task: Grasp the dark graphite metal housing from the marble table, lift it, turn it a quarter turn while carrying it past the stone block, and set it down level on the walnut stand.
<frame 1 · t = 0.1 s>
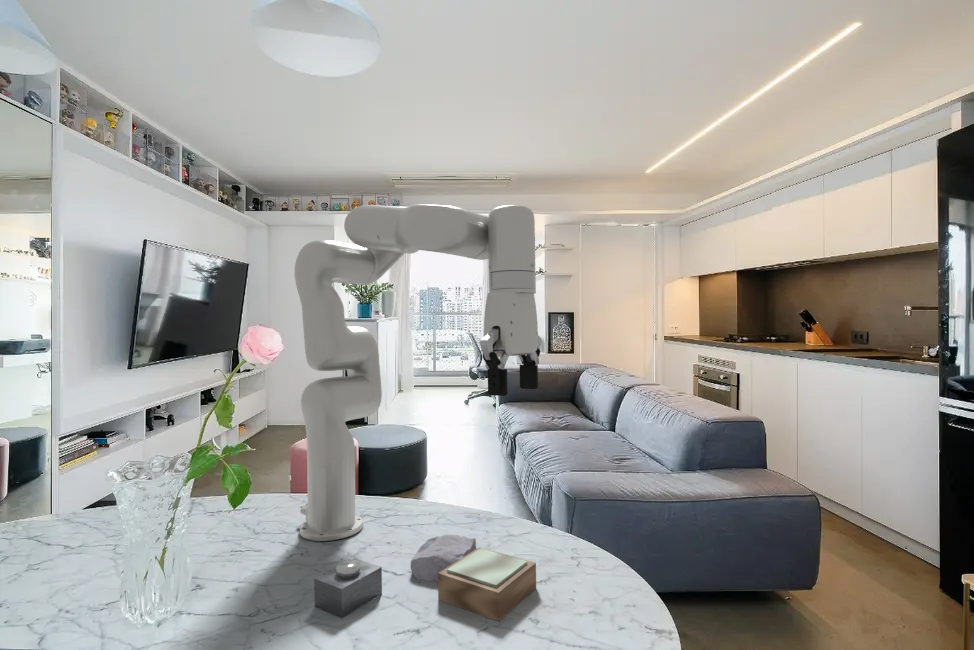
hand: (514, 391, 81), 31 cm above the table, tool pointing down, fingers open, 9 cm apart
housing: (349, 601, 78), on the table
stand: (488, 593, 79), on the table
stone block: (442, 567, 89), on the table
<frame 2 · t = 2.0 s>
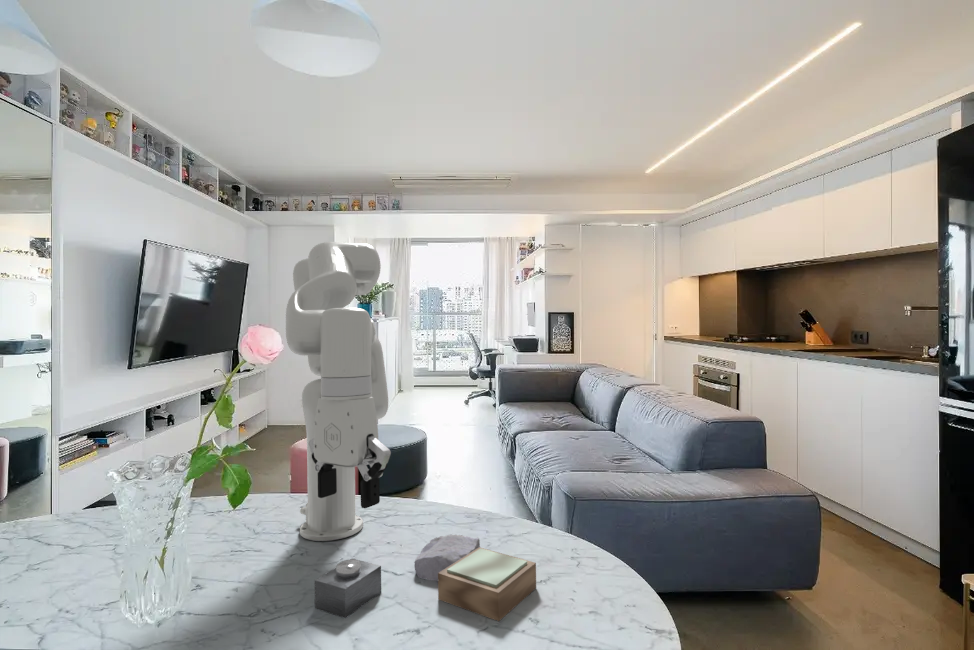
hand: (348, 500, 78), 15 cm above the table, tool pointing down, fingers open, 9 cm apart
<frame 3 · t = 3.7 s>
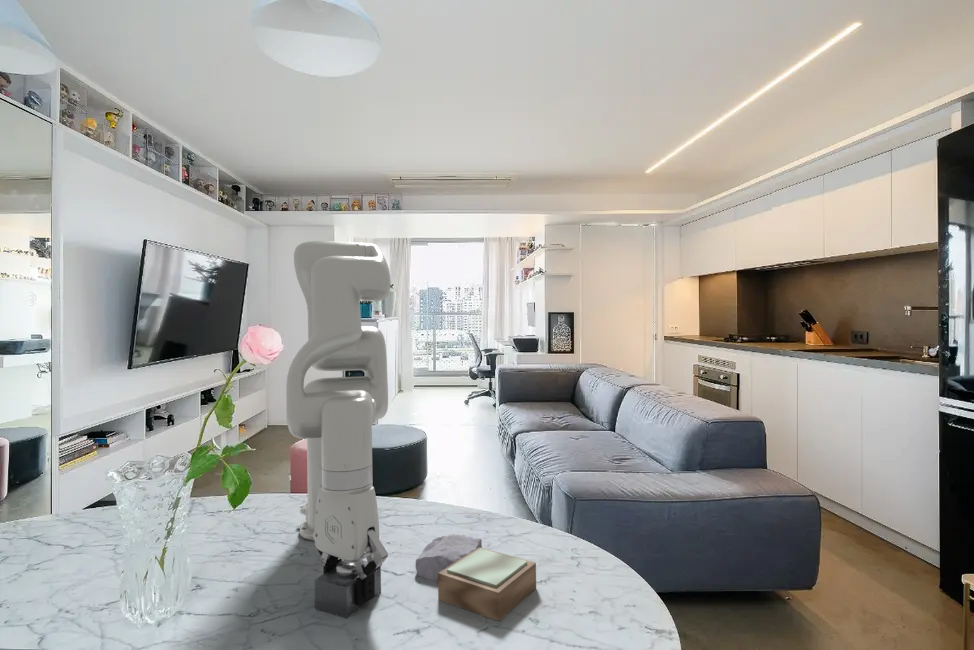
hand: (348, 593, 78), 1 cm above the table, tool pointing down, fingers closed on housing, 6 cm apart
housing: (349, 600, 78), on the table, touching gripper
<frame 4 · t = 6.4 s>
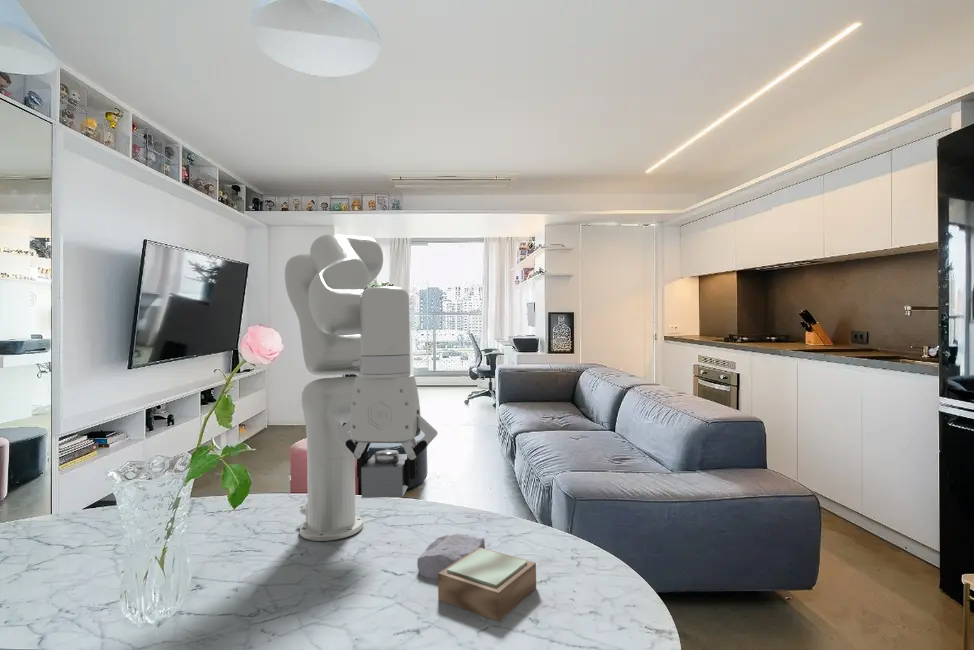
hand: (387, 482, 78), 18 cm above the table, tool pointing down, fingers closed on housing, 6 cm apart
housing: (387, 489, 78), point 17 cm above the table, touching gripper
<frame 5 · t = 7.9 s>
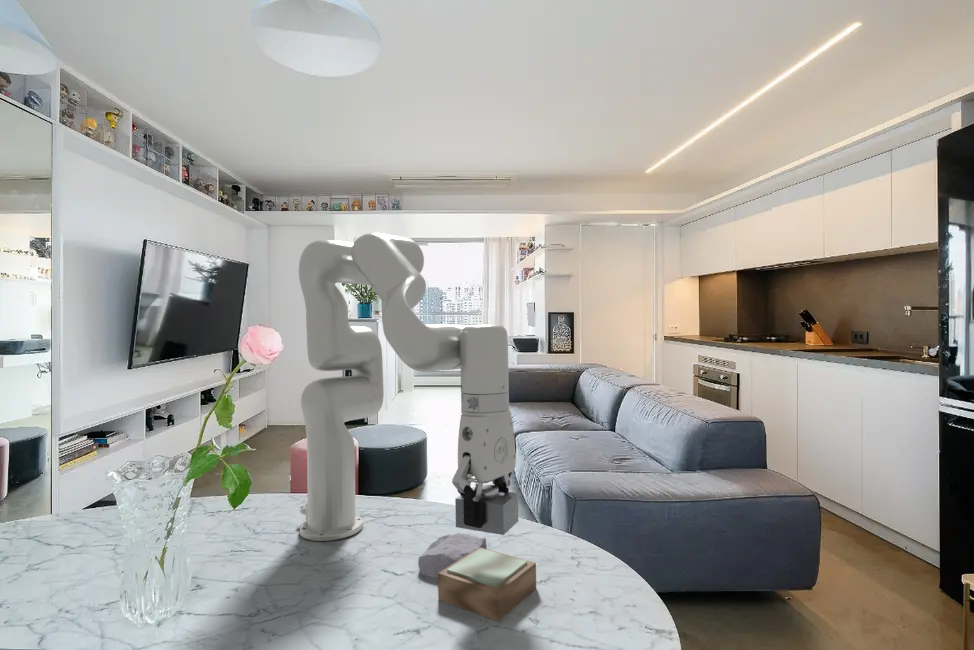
hand: (487, 517, 79), 12 cm above the table, tool pointing down, fingers closed on housing, 6 cm apart
housing: (487, 524, 79), point 11 cm above the table, touching gripper
when the fingers open (7 cm above the table, at t = 9.3 s): housing drops 1 cm, resting on stand.
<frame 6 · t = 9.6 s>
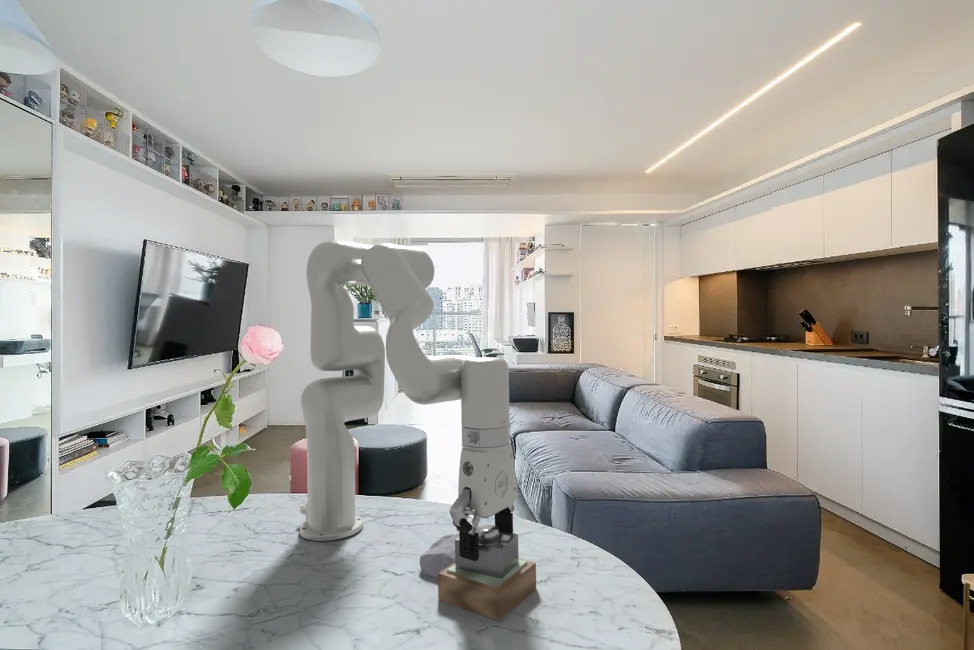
hand: (487, 546, 79), 7 cm above the table, tool pointing down, fingers open, 9 cm apart
housing: (487, 565, 79), point 4 cm above the table, touching stand
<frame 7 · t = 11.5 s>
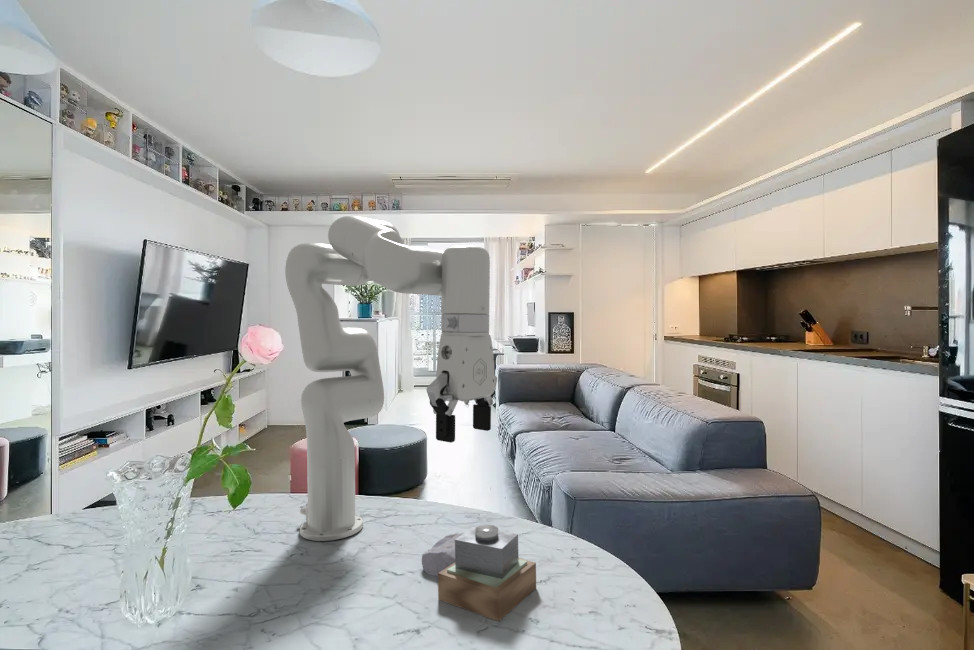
hand: (464, 434, 80), 25 cm above the table, tool pointing down, fingers open, 9 cm apart
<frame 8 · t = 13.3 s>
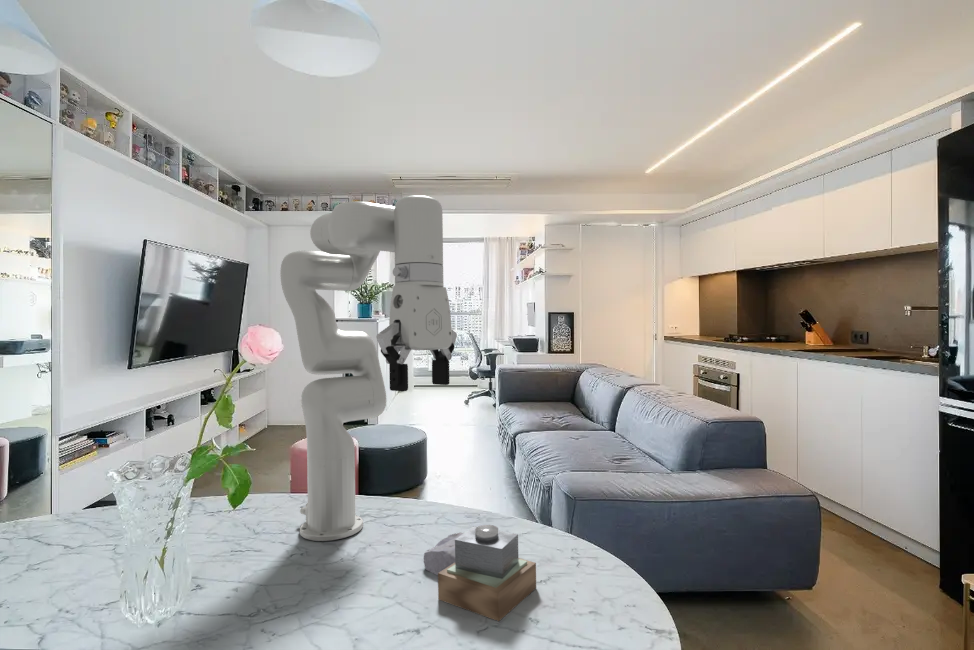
hand: (420, 387, 79), 32 cm above the table, tool pointing down, fingers open, 9 cm apart
at the end: housing inside the target area on the stand (0.1 cm from its centre), point 4.4 cm above the stand's base; housing tilted 0°; the gripper is holding nothing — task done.
